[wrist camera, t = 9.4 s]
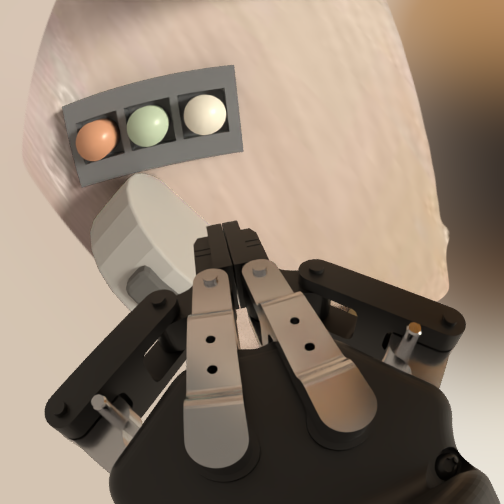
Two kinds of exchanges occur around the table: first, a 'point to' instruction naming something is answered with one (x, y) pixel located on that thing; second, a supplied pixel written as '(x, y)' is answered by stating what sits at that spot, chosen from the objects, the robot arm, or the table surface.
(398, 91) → the table surface
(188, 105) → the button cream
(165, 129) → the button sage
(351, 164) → the table surface
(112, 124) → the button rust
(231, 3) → the table surface
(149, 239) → the alarm clock
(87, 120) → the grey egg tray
